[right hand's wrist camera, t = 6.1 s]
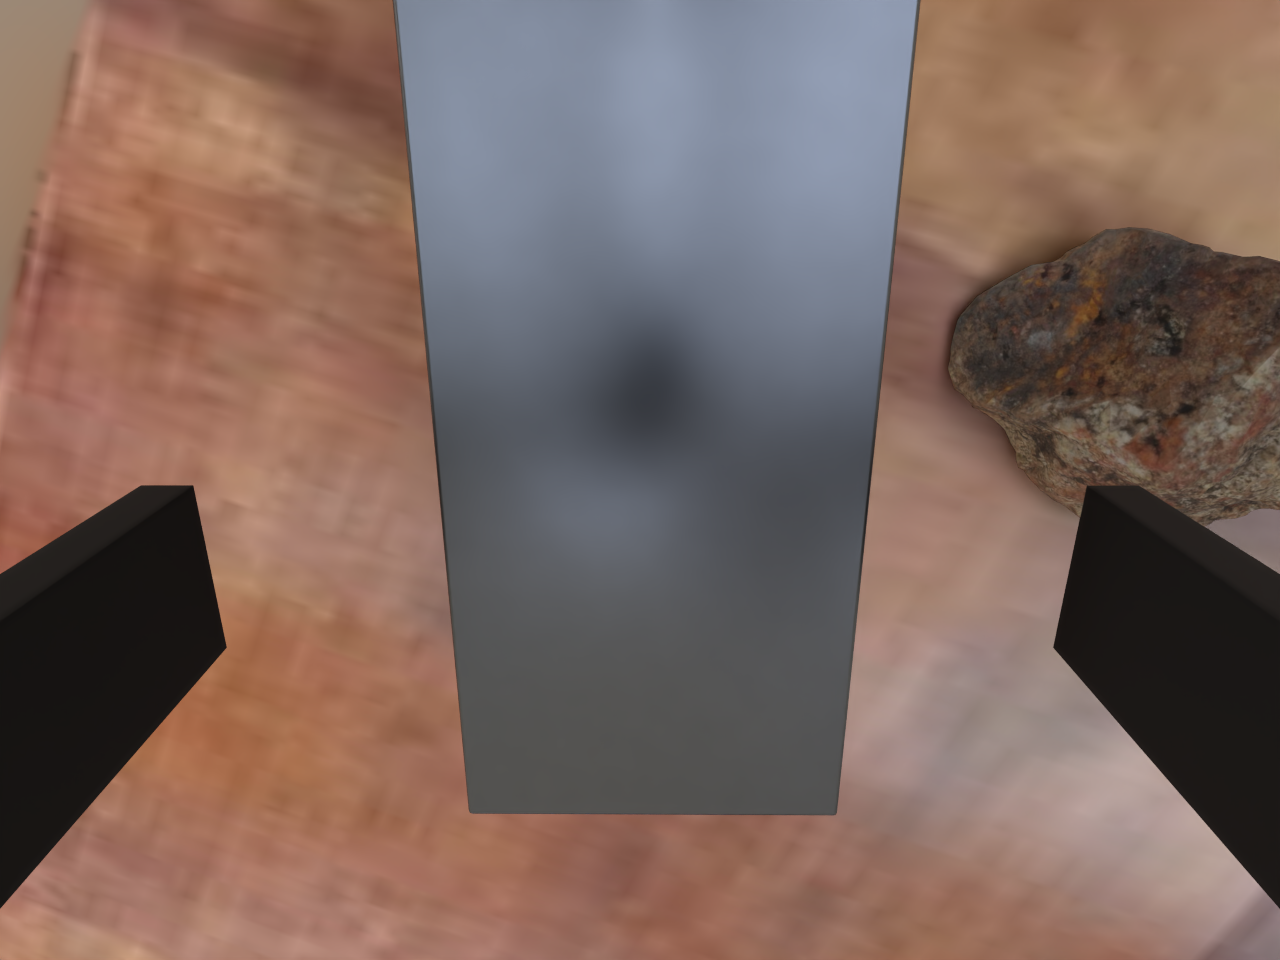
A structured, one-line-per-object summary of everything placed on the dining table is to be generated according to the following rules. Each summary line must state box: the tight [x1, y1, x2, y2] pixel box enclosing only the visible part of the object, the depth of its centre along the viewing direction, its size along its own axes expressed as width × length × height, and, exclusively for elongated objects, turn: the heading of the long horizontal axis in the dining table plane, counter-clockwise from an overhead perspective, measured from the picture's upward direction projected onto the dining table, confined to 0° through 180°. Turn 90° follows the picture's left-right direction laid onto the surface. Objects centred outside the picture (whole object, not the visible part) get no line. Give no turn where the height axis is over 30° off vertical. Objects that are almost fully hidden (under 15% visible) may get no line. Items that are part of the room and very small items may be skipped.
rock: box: [948, 227, 1280, 526], centre depth 26 cm, size 14×9×10 cm
